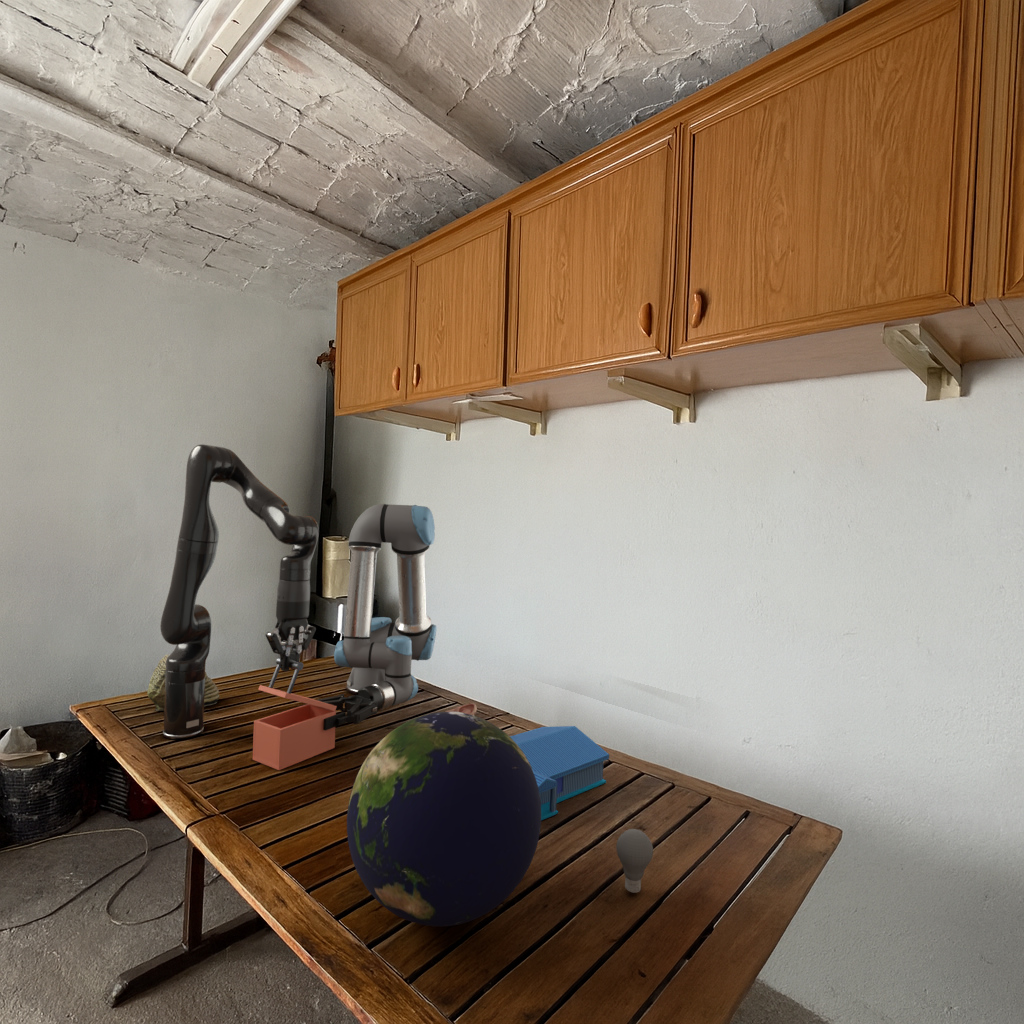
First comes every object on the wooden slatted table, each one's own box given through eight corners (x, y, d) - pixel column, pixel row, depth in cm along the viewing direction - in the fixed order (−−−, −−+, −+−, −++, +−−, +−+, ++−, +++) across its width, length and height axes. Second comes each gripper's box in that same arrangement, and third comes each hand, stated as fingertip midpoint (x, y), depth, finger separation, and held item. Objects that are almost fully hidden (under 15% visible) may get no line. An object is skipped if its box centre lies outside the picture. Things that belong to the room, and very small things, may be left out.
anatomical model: (424, 710, 178) (437, 698, 190) (423, 724, 179) (436, 711, 190) (469, 715, 176) (480, 702, 187) (469, 729, 176) (479, 716, 187)
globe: (299, 937, 91) (307, 730, 90) (409, 838, 119) (415, 679, 118) (489, 1009, 80) (499, 773, 79) (561, 881, 107) (569, 705, 107)
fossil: (144, 707, 182) (145, 655, 182) (212, 696, 194) (213, 647, 194) (151, 716, 175) (153, 662, 175) (221, 703, 188) (223, 653, 188)
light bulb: (610, 879, 108) (613, 822, 108) (644, 879, 109) (647, 822, 109) (619, 902, 102) (622, 840, 102) (655, 901, 103) (658, 840, 103)
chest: (278, 770, 145) (280, 730, 145) (252, 759, 151) (253, 720, 150) (334, 747, 160) (336, 711, 159) (308, 738, 165) (310, 703, 165)
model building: (485, 844, 118) (488, 791, 117) (412, 795, 136) (414, 749, 136) (617, 787, 144) (619, 743, 144) (541, 752, 162) (543, 713, 162)
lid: (284, 697, 146) (298, 661, 149) (258, 689, 151) (271, 654, 154) (335, 710, 159) (347, 677, 162) (309, 702, 164) (321, 670, 167)
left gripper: (279, 602, 145) (275, 678, 145) (326, 597, 156) (322, 667, 156) (258, 598, 149) (254, 672, 149) (305, 593, 160) (302, 661, 160)
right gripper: (403, 720, 172) (341, 745, 153) (345, 703, 184) (280, 724, 165) (404, 692, 172) (342, 714, 153) (346, 677, 184) (281, 696, 165)
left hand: (289, 669), depth 153 cm, fingers closed on lid, 2 cm apart
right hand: (310, 720), depth 159 cm, fingers closed on chest, 10 cm apart
